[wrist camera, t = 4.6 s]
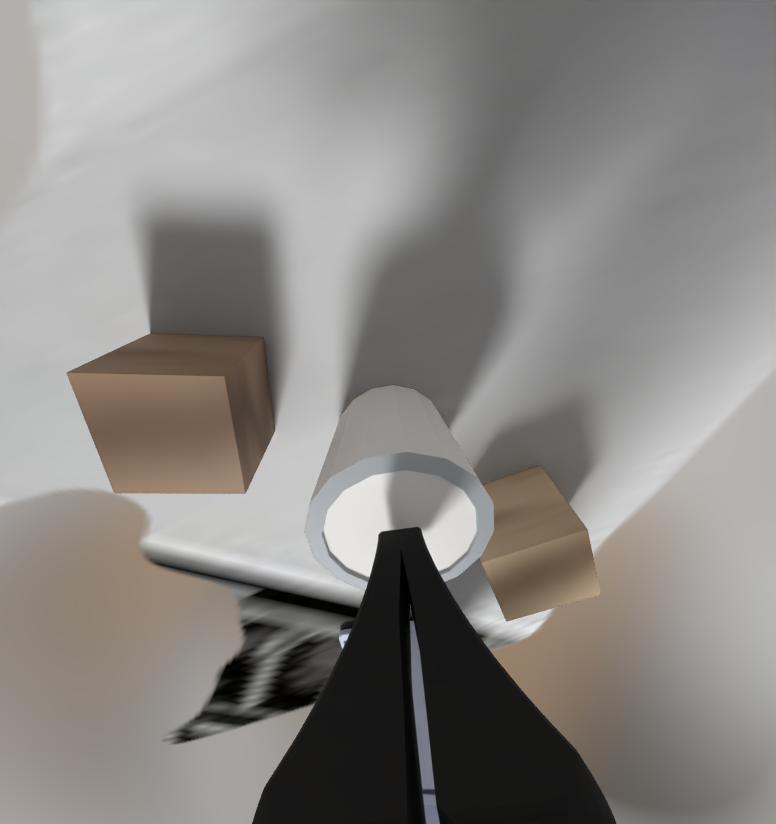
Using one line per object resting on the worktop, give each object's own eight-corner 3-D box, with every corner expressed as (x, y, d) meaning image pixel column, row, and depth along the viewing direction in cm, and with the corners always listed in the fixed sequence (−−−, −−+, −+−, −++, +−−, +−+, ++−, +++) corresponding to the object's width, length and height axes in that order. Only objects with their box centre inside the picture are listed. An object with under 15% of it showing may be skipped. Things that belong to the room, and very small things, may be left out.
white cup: (355, 351, 17) (347, 423, 10) (478, 403, 18) (535, 493, 12) (307, 462, 19) (278, 571, 13) (418, 498, 21) (439, 612, 15)
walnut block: (275, 430, 18) (245, 493, 14) (176, 429, 18) (114, 493, 14) (264, 336, 16) (224, 376, 12) (151, 332, 16) (66, 372, 11)
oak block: (555, 522, 22) (600, 594, 18) (480, 546, 23) (506, 621, 19) (539, 463, 20) (587, 529, 16) (457, 492, 21) (481, 562, 17)
